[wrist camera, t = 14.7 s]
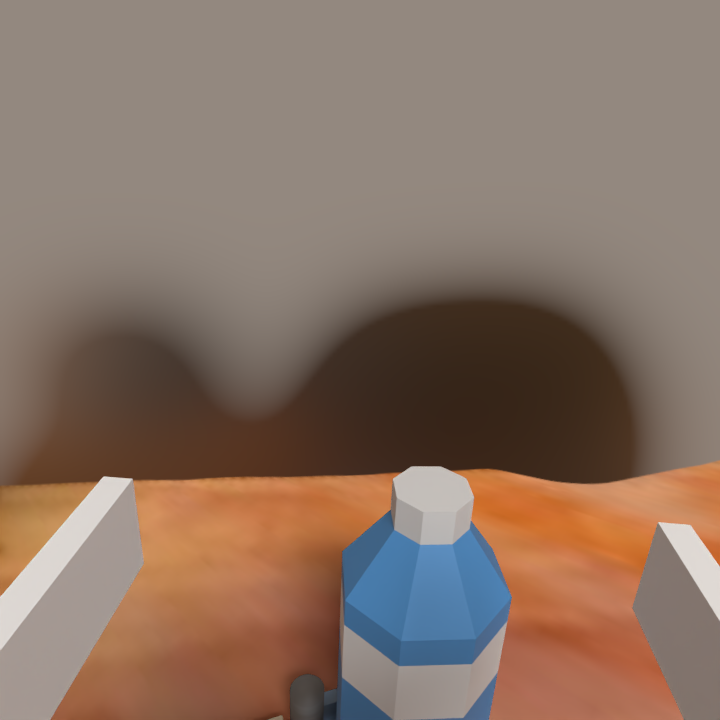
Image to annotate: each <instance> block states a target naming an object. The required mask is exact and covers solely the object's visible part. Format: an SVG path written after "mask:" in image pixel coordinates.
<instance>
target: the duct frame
mask: <svg viewBox="0 0 720 720" xmlns="http://www.w3.org/2000/svg"><path fill="white" fill-rule="evenodd" d="M336 712H337V688H336V689H333V690H330V691H327V692H324V684H323V682H322V681H321V679H320V678H318V677H317V676H315V675H311V674H305V675H301V676H299V677H298V678H296V679H295V680H294V681H293V683H292V684H291V687H290V720H336ZM268 720H283V717H282V715H281V716H277V717H274V718H271V719H268Z"/></svg>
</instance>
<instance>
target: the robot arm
mask: <svg viewBox="0 0 720 720" xmlns="http://www.w3.org/2000/svg"><path fill="white" fill-rule="evenodd" d="M143 564H144V561H143V554H142V546H141V538H140V531H139V523H138V515H137V508H136V500H135V492H134V485H133V479H127V478H115V477H103V478H102V479H101V480H100V481H99V483H98V484H97V485H96V486H95V487H94V488H93V490H92V491H91V492H90V493H89V494H88V495H87V497H86V498H85V499H84V500H83V501H82V502H81V503H80V505H79V506H78V507H77V508H76V509H75V510H74V512H73V513H72V514H71V515H70V516H69V517H68V519H67V520H66V521H65V522H64V523H63V524H62V526H61V527H60V528H59V529H58V530H57V531H56V533H55V534H54V535H53V536H52V537H51V538H50V540H49V541H48V542H47V543H46V544H45V545H44V547H43V548H42V549H41V550H40V551H39V552H38V554H37V555H36V556H35V557H34V558H33V559H32V561H31V562H30V563H29V564H28V565H27V566H26V568H25V569H24V570H23V571H22V572H21V573H20V574H19V576H18V577H17V578H16V579H15V580H14V581H13V583H12V584H11V585H10V586H9V587H8V588H7V590H6V591H5V592H4V593H3V594H2V595H1V597H0V720H50V719H51V718H52V716H53V714H54V713H55V711H56V709H57V708H58V706H59V704H60V703H61V701H62V699H63V698H64V696H65V694H66V693H67V691H68V689H69V688H70V686H71V684H72V682H73V681H74V679H75V677H76V676H77V674H78V672H79V671H80V669H81V667H82V666H83V664H84V662H85V661H86V659H87V657H88V656H89V654H90V652H91V651H92V649H93V647H94V646H95V644H96V642H97V641H98V639H99V637H100V636H101V634H102V632H103V631H104V629H105V627H106V626H107V624H108V622H109V621H110V619H111V617H112V616H113V614H114V612H115V611H116V609H117V607H118V606H119V604H120V602H121V601H122V599H123V597H124V596H125V594H126V592H127V591H128V589H129V587H130V586H131V584H132V582H133V581H134V579H135V577H136V576H137V574H138V572H139V571H140V569H141V567H142V566H143ZM632 608H633V610H634V612H635V615H636V617H637V619H638V621H639V623H640V625H641V628H642V630H643V632H644V634H645V636H646V638H647V641H648V643H649V645H650V647H651V649H652V651H653V653H654V656H655V658H656V660H657V662H658V664H659V666H660V669H661V671H662V673H663V675H664V677H665V679H666V682H667V684H668V686H669V688H670V690H671V692H672V695H673V697H674V699H675V701H676V703H677V705H678V707H679V710H680V712H681V714H682V716H683V718H684V720H720V567H719V565H718V564H717V562H716V561H715V559H714V558H713V557H712V555H711V554H710V552H709V551H708V550H707V548H706V547H705V545H704V544H703V542H702V541H701V540H700V538H699V537H698V535H697V534H696V532H695V531H694V530H693V528H692V527H691V525H684V524H672V523H660V522H658V524H657V527H656V531H655V534H654V537H653V541H652V544H651V547H650V551H649V554H648V557H647V561H646V564H645V567H644V571H643V574H642V577H641V581H640V584H639V587H638V591H637V594H636V597H635V601H634V604H633V607H632Z"/></svg>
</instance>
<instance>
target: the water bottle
mask: <svg viewBox="0 0 720 720" xmlns="http://www.w3.org/2000/svg"><path fill="white" fill-rule="evenodd" d="M473 501H474V496H473V493H472V491H471V489H470V486H469V484H468V481H467V479H466V478H464V477H462V476H460V475H458V474H455V473H453V472H451V471H449V470H447V469H445V468H443V467H410V468H409V469H407V470H406V471H404V472H403V473H401V474H400V475H398V476H397V477H395V478H394V479H393V485H392V498H391V510H390V511H389V512H387V513H386V514H385V515H384V516H383V517H382V518H381V519H379V520H378V521H377V522H376V523H375V524H374V525H372V526H371V527H370V528H369V529H368V530H367V531H365V532H364V533H363V534H362V535H361V536H360V537H358V538H357V539H356V540H355V541H354V542H353V543H352V544H350V545H349V546H348V547H347V548H346V549H345V550H343V551H342V577H341V604H340V631H339V658H338V685H337V712H336V720H489V715H490V710H491V705H492V699H493V694H494V689H495V684H496V678H497V673H498V668H499V662H500V657H501V652H502V646H503V641H504V636H505V630H506V625H507V620H508V614H509V609H510V604H511V598H512V597H511V594H510V592H509V589H508V587H507V584H506V582H505V579H504V577H503V574H502V572H501V569H500V567H499V564H498V562H497V559H496V557H495V554H494V552H493V549H492V548H491V547H490V545H489V544H488V543H487V541H486V540H485V539H484V537H483V536H482V535H481V533H480V532H479V531H478V529H477V528H476V527H475V525H474V524H473V523H472V521H471V515H472V508H473Z"/></svg>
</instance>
